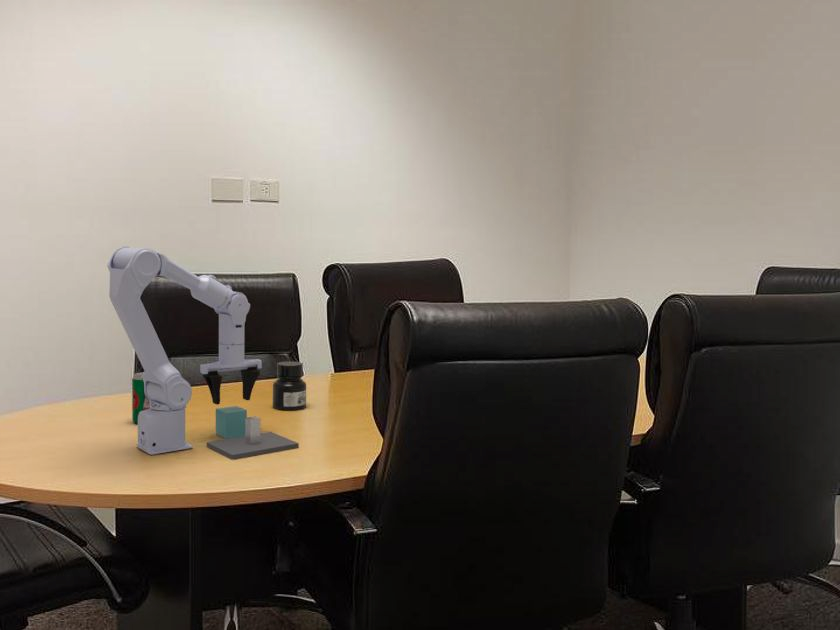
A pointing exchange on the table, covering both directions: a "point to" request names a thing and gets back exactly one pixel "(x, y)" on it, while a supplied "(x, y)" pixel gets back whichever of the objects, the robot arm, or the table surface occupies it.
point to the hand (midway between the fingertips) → (231, 401)
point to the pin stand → (252, 442)
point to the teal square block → (230, 422)
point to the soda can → (138, 397)
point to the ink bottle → (289, 387)
